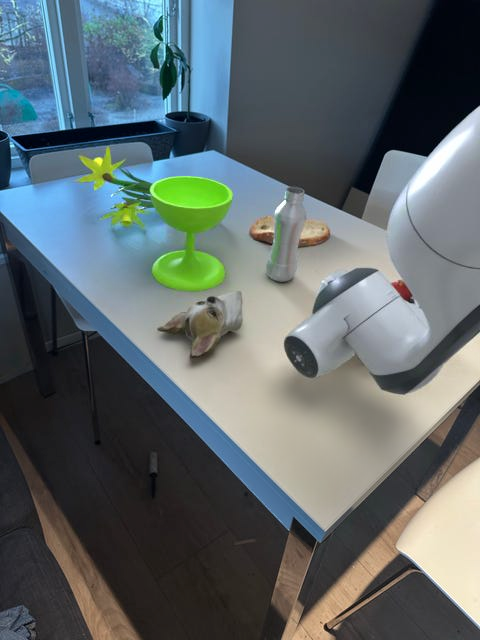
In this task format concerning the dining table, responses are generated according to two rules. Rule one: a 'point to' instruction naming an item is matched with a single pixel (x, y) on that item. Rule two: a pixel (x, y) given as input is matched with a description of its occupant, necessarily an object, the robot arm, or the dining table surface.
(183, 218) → the wineglass
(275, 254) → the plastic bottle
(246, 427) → the dining table surface
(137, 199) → the daffodil flowers
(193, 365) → the dining table surface
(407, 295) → the onion
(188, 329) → the ceramic sculpture
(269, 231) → the bread slice
